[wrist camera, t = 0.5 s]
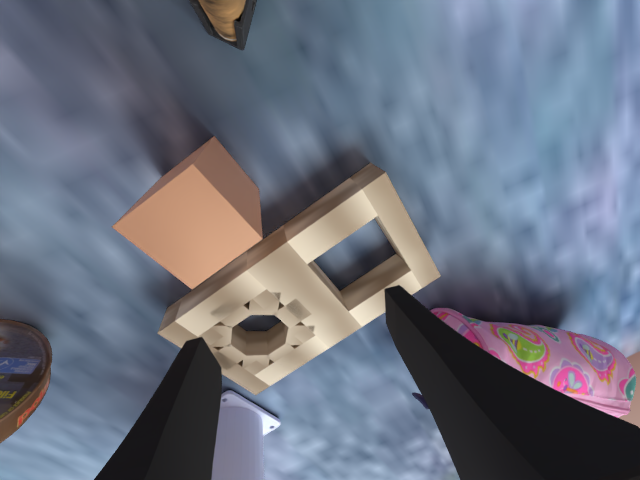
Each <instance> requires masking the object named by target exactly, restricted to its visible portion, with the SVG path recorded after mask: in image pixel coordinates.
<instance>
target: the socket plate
mask: <svg viewBox="0 0 640 480" xmlns="http://www.w3.org/2000/svg"><path fill="white" fill-rule="evenodd" d="M374 218H375V220H376V221H377V223H378V224H379V226H380V228H381V229H382V231H383V233H384V234H385V236H386V237H387V239H388V241H389V242H390V244H391V246H392V247H393V249H394V250H395V252H396V254H395V255H393V256H392V257H390V258H389V259H387V260H386V261H384V262H383V263H381V264H380V265H378V266H377V267H375V268H374V269H372V270H371V271H369V272H368V273H366V274H365V275H363V276H362V277H360V278H359V279H357V280H356V281H354V282H353V283H351V284H350V285H348V286H347V287H345V288H344V289H342V290H341V291H339V290H338V289H337V287H336V286H335V285H334V284H333V283H332V282H331V280H330V279H329V278H328V277H327V276H326V275H325V273H324V272H323V271H322V270H321V269H320V268H319V266H318V265H317V264H316V263H315V262H314V259H316V258H317V257H318V256H320V255H321V254H323V253H324V252H326V251H327V250H329V249H330V248H332V247H333V246H334V245H336V244H337V243H339V242H340V241H342V240H343V239H345V238H346V237H348V236H349V235H350V234H352V233H353V232H355V231H356V230H358V229H359V228H361V227H362V226H363V225H365V224H366V223H368V222H369V221H371V220H372V219H374ZM440 276H441V275H440V273H439V272H438V270H437V268H436V266H435V264H434V262H433V260H432V258H431V256H430V255H429V253H428V251H427V249H426V247H425V245H424V243H423V241H422V240H421V238H420V236H419V234H418V232H417V230H416V228H415V226H414V224H413V223H412V221H411V219H410V217H409V215H408V213H407V211H406V209H405V208H404V206H403V204H402V202H401V200H400V198H399V196H398V194H397V192H396V191H395V189H394V187H393V185H392V183H391V181H390V179H389V177H388V175H387V174H386V172H385V171H383V170H381V169H380V168H378V167H377V166H375V165H373V164H372V163H369V164H368V165H367V166H365V167H364V168H362V169H361V170H360V171H358V172H357V173H355V174H354V175H353V176H351V177H350V178H348V179H347V180H346V181H344V182H343V183H341V184H340V185H339V186H337V187H336V188H335V189H333V190H332V191H330V192H329V193H328V194H326V195H325V196H323V197H322V198H321V199H319V200H318V201H316V202H315V203H314V204H312V205H311V206H309V207H308V208H307V209H305V210H304V211H302V212H301V213H300V214H298V215H297V216H295V217H294V218H293V219H291V220H290V221H288V222H287V223H286V224H284V225H283V226H281V227H280V228H279V229H277V230H276V231H274V232H273V233H272V234H270V235H269V236H267V237H266V238H265V239H263V240H262V241H260V242H259V243H258V244H256V245H255V246H253V247H252V248H251V249H249V250H248V251H246V252H245V253H244V254H242V255H241V256H239V257H238V258H237V259H235V260H234V261H232V262H231V263H230V264H228V265H227V266H225V267H224V268H223V269H221V270H220V271H218V272H217V273H216V274H214V275H213V276H211V277H210V278H209V279H207V280H206V281H204V282H203V283H202V284H200V285H199V286H197V287H196V288H195V289H193V290H192V291H190V292H189V293H188V294H186V295H185V296H183V297H182V298H181V299H179V300H178V301H176V302H175V303H174V304H172V305H171V306H169V307H168V308H167V310H166V312H165V315H164V318H163V320H162V323H161V326H160V328H159V331H158V334H159V335H161V336H163V337H164V338H166V339H167V340H169V341H171V342H172V343H174V344H175V345H177V346H178V347H180V348H182V347H183V345H184V343H185V342H186V341H188V340H191V339H195V338H199V337H203V339H204V340H205V342H206V344H207V345H208V347H209V348H210V350H211V352H212V353H213V355H214V356H215V358H216V360H217V361H218V363H219V365H220V366H221V368H222V374H223V375H224V376H226V377H228V378H229V379H231V380H232V381H234V382H236V383H237V384H239V385H240V386H242V387H243V388H245V389H247V390H248V391H250V392H251V393H253V394H255V395H257V394H258V393H260V392H262V391H263V390H265V389H266V388H268V387H269V386H271V385H272V384H274V383H276V382H277V381H279V380H280V379H282V378H283V377H285V376H286V375H288V374H290V373H291V372H293V371H294V370H296V369H297V368H299V367H300V366H302V365H303V364H305V363H307V362H308V361H310V360H311V359H313V358H314V357H316V356H317V355H319V354H321V353H322V352H324V351H325V350H327V349H328V348H330V347H331V346H333V345H335V344H336V343H338V342H339V341H341V340H342V339H344V338H345V337H347V336H349V335H350V334H352V333H353V332H355V331H356V330H358V329H359V328H361V327H363V326H364V325H366V324H367V323H369V322H370V321H372V320H373V319H375V318H377V317H378V316H380V315H381V314H383V313H384V312H386V311H385V292H384V289H386V288H389V287H393V286H397V285H400V286H402V287H403V288H404V289H405V290H406V291H407V292H408V293H409V294H411V295H412V294H414V293H415V292H417V291H419V290H420V289H422V288H423V287H425V286H426V285H428V284H429V283H431V282H433V281H434V280H436V279H437V278H439V277H440ZM250 315H275V316H276V317H277V318H279V319H280V320H281V322H279V323H278V324H276V325H275V326H273V327H272V328H270V329H269V330H267V331H246V330H244V329H243V328H242V327H240V326H239V325H238V323H240V322H241V321H243V320H244V319H246V318H247V317H248V316H250Z"/></svg>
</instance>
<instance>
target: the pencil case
mask: <svg viewBox="0 0 640 480" xmlns="http://www.w3.org/2000/svg"><path fill="white" fill-rule="evenodd" d="M430 311H431V312H432V313H433V314H435V315H436V316H437V317H438V318H440V319H441V320H442V321H444V322H445V323H446V324H447V325H449V326H450V327H452V328H453V329H454V330H456V331H457V332H458V333H460V334H461V335H463V336H464V337H466V338H467V339H468V340H470V341H471V342H473V343H474V344H476V345H477V346H479V347H480V348H482V349H483V350H485V351H487V352H488V353H490V354H492V355H493V356H495V357H496V358H498V359H500V360H501V361H503V362H505V363H507V364H508V365H510V366H512V367H513V368H515V369H517V370H519V371H521V372H522V373H524V374H526V375H528V376H530V377H532V378H534V379H536V380H538V381H540V382H542V383H543V384H545V385H547V386H549V387H551V388H553V389H555V390H557V391H559V392H561V393H563V394H565V395H567V396H569V397H572V398H574V399H576V400H578V401H580V402H582V403H584V404H586V405H589V406H591V407H593V408H596V409H598V410H600V411H603V412H605V413H608V414H610V415H612V416H615V417H617V418H618V417H620V416H622V415H627V414H628V413H629V412H630V408H629V407H630V404H631V401H632V399H633V395H634V390H635V385H636V376H635V372H634V370H633V368H632V366H631V364H630V362H628V360H627V359H626V358H625V356H624V355H623V354H622V353H621V352H619V351H618V350H617V349H615V348H614V347H612V346H611V345H609V344H607V343H605V342H603V341H601V340H599V339H596V338H593V337H590V336H587V335H583V334H576V333H573V332H570V331H565V330H561V329H556V328H551V327H546V326H542V325H527V326H526V325H521V324H514V323H502V322H484V321H481V320H477V319H474V318H470V317H466V316H465V315H463V314H461V313H459V312H457V311H455V310H453V309H450V308H434V309H432V310H430ZM412 395H413V396H414V397H415V398H416V399H417V400H418V401H420V402H421V403H422V404H423V406H424V407H425V408H426V409H429V407H428V405H427V403H426V401H425V399H424V397H423V395H421V394H418V393H412Z"/></svg>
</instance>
